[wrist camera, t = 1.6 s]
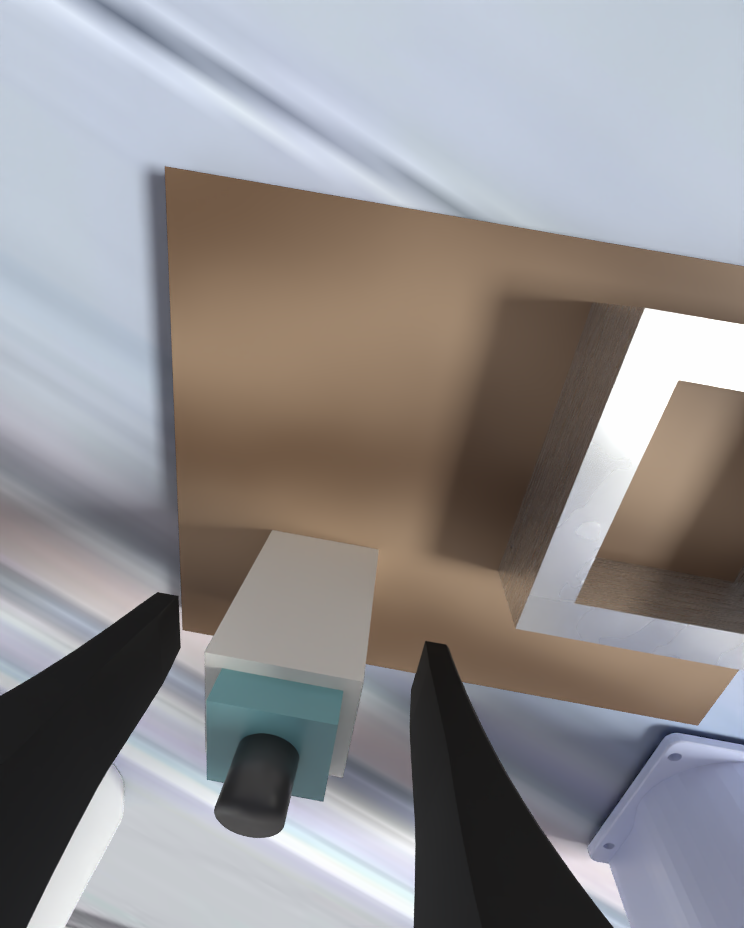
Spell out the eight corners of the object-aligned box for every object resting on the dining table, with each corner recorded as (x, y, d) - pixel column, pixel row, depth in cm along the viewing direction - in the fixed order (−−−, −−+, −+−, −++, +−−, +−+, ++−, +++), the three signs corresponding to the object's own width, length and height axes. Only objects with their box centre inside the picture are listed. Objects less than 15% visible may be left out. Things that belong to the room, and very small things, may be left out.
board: (681, 701, 17) (697, 725, 16) (194, 611, 17) (182, 630, 16) (953, 308, 11) (1004, 311, 10) (185, 176, 11) (164, 166, 10)
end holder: (750, 617, 14) (819, 684, 11) (497, 571, 14) (515, 628, 11) (930, 361, 10) (1081, 383, 8) (592, 302, 10) (645, 308, 8)
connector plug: (362, 629, 15) (328, 880, 9) (266, 611, 15) (163, 848, 9) (378, 549, 14) (352, 780, 7) (272, 530, 14) (154, 743, 7)
